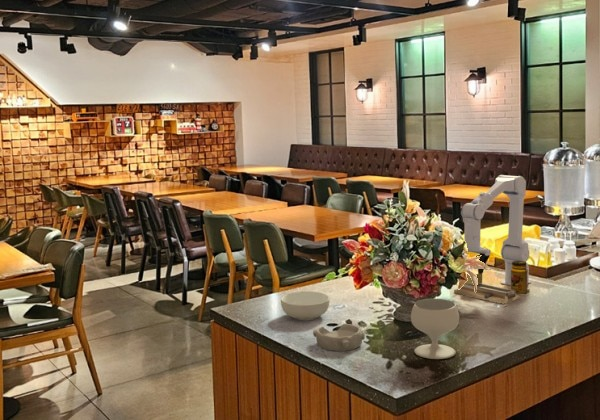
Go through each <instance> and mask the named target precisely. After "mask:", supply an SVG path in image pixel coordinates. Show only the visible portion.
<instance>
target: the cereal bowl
mask: <svg viewBox="0 0 600 420" xmlns="http://www.w3.org/2000/svg"><path fill="white" fill-rule="evenodd" d="M280 305H281V308H282V309H281V310H282V311H283V312H284V313H285V314H286V315H288V316H290V317H291V318H293V319H295V320H298V321H311V320H316V318H318V317H320V316H323V315H325V313H326V312H327V311H328V309H329V307H330V297H329V295H327V294H326V293H323V292H319V291H311V290H309V291H307V290H306V291H305V290H304V291H294V292H290V293H287V294H284V295H283V296H281V297H280Z"/></svg>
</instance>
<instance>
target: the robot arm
mask: <svg viewBox="0 0 600 420" xmlns="http://www.w3.org/2000/svg"><path fill="white" fill-rule="evenodd" d="M526 191H527V180H526V179H525V177H523V176H522V175H518V176H517V175H506V174H505V175H504V174H500V175H498V176H497V177H496V178H495V181H494V184H493V185H492V186H491V187H490V188H489V189H488V190H487V191H484V192H480V193H479V195H478V196H476V197H475V198H474V199H473V200H471V202H467V203H465V204H463V206H462V208H461V211H460V215H461V217H462V221H463V223H464V232H463V233H464V238H463V239H464V240H465V241H466V243H467V248H468V253H474V254H477V255H475V257H477V256H480V255H482V256H481V257H480V259H479V260H480V261H482V262H484V263H485V265H486V263H487V262H488V260H489V259H490V256H491V249H488V248H485V247H482V246H481V221H482V219H483V218H484V215H485V213H486V210H488V209H489V208H491V206H492V205H493V204H494V199H495V198H497V197H498V196H500V195H501V194H504V195H506V196H507V197H508V198H509V207H508V208H509V211H508V235H507V238H506V239H504V240H503V241H502V246H501V250H500V256H501V258H502V259H503V262H505V263H504V264H505V268H504V269H505V273H504V274H505V275H504V278H505V279H504V280H503V281H501V282H500V284H502V285H506V286H511V269H512V262H513V261H524V262H526V263H527V264H526V266H527V267H526V268H527V272H528V273H527V285H528V284H531V283H532V282H531V281H530V274H529V273H530V266H529V264H528V262H527V261H528V260H529V258H530V250H529V243H528V242H527V241H526V240H525V239H524V238H523V225H524V223H523V222H524V218H523V217H524V204H525V203H524V201H525V199H524V198H525V197H526V193H527V192H526ZM484 270H485V268H484V269H478V268H477V272H478V274H481V273H482V274H483V273H484Z"/></svg>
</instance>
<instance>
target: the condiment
mask: <svg viewBox="0 0 600 420" xmlns="http://www.w3.org/2000/svg"><path fill="white" fill-rule="evenodd" d="M526 262H527V261H526ZM526 262H524V261H513V262H512V269H511V285H510V288H511V290H516V294H525V295H524V296H529V295H530V290H531V289H530V288H528V284H527V273H528V272H527V268H526V267H527V266H526V264H528V262H527V263H526Z"/></svg>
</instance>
